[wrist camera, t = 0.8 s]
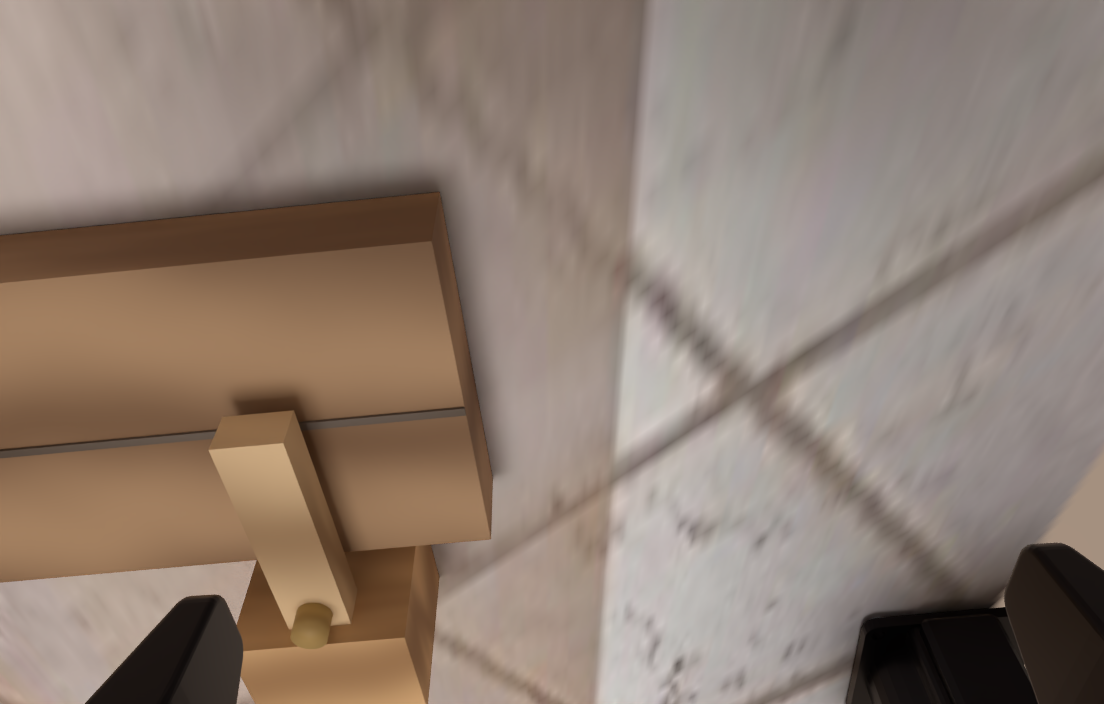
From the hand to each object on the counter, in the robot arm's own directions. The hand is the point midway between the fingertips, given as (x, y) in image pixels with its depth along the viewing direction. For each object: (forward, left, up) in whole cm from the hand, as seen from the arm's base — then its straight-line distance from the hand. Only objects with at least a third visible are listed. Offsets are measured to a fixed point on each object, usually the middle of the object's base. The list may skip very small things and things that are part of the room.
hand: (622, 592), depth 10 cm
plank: (-6, +16, -13) cm, 22 cm away
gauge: (-10, +8, -13) cm, 19 cm away
